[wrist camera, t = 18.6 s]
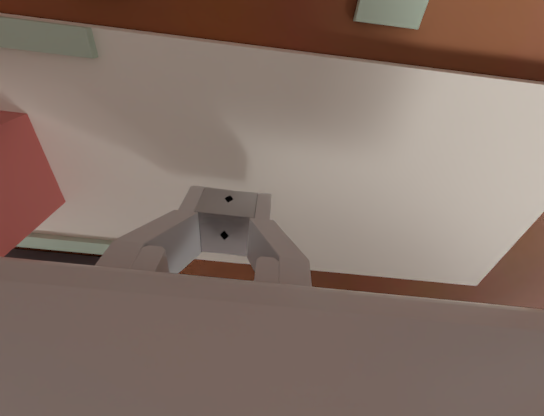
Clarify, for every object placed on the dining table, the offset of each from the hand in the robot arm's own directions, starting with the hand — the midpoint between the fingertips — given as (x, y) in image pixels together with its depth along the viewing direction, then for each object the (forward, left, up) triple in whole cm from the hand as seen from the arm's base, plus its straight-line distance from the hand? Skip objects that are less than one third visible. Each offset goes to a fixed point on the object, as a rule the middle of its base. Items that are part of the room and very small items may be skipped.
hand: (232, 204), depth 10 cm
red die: (0, +10, -1) cm, 10 cm away
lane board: (+2, 0, -2) cm, 3 cm away
